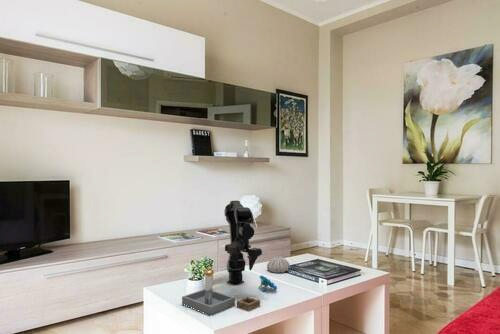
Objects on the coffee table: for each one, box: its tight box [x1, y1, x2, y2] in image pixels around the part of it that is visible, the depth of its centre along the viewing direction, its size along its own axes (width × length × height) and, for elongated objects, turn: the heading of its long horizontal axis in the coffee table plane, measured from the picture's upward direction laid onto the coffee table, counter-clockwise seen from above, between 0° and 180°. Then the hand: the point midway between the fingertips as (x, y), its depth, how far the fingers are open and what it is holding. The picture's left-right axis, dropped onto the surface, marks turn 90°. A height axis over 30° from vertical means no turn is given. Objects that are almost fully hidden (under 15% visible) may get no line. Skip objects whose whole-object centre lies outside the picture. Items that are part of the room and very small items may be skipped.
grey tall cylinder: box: [203, 268, 214, 305], centre depth 152 cm, size 4×4×14 cm
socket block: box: [236, 296, 261, 312], centre depth 150 cm, size 7×7×2 cm
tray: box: [181, 288, 236, 316], centre depth 152 cm, size 18×14×4 cm
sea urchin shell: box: [266, 255, 291, 274], centre depth 204 cm, size 13×14×8 cm
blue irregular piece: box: [258, 275, 278, 292], centre depth 170 cm, size 11×6×10 cm
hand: (243, 268), depth 166 cm, fingers open, 9 cm apart
